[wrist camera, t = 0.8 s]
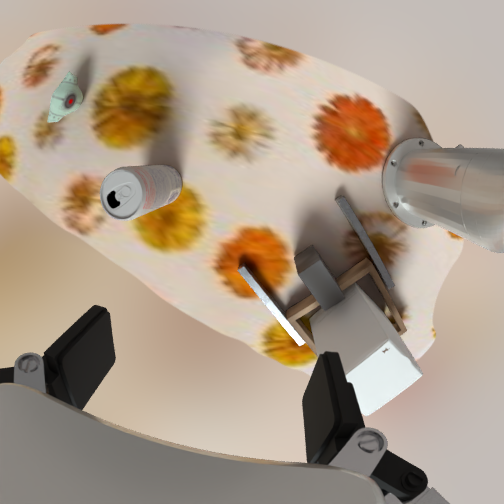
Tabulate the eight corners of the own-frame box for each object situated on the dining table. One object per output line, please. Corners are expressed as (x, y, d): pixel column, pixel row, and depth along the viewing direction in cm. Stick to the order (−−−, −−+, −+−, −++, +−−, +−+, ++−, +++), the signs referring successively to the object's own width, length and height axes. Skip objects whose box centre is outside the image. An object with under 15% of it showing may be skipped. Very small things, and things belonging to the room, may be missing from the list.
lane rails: (341, 195, 35) (344, 196, 33) (390, 281, 38) (394, 285, 36) (238, 266, 38) (237, 270, 37) (298, 340, 41) (299, 346, 40)
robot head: (83, 76, 31) (57, 67, 24) (100, 81, 31) (75, 72, 25) (63, 122, 33) (36, 120, 27) (79, 129, 33) (51, 127, 27)
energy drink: (140, 176, 35) (90, 183, 24) (172, 157, 34) (130, 156, 23) (156, 210, 37) (112, 231, 25) (189, 193, 36) (153, 207, 24)
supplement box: (306, 318, 40) (320, 390, 26) (352, 277, 38) (389, 336, 24) (343, 350, 42) (365, 419, 27) (385, 313, 39) (425, 375, 25)
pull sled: (345, 222, 35) (358, 233, 30) (401, 322, 39) (415, 343, 34) (261, 279, 38) (260, 299, 33) (330, 366, 42) (337, 390, 37)
